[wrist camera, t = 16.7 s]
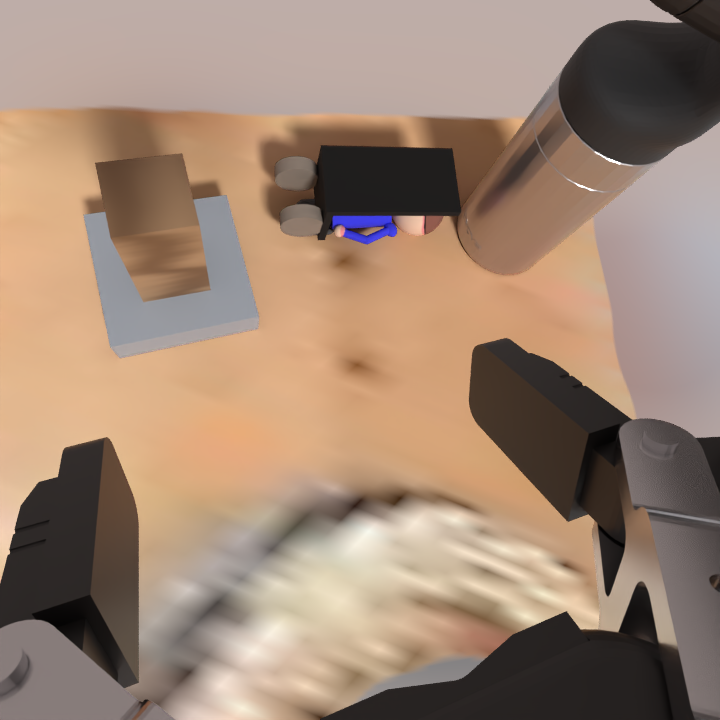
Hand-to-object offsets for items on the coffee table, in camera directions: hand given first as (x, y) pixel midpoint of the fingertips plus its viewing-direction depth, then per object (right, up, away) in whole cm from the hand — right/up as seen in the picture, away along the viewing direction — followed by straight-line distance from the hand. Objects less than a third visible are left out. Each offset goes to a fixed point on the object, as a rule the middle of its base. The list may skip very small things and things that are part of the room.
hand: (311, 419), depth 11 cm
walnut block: (-14, +9, +29) cm, 33 cm away
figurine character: (+1, +14, +37) cm, 40 cm away
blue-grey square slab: (-14, +8, +32) cm, 36 cm away
